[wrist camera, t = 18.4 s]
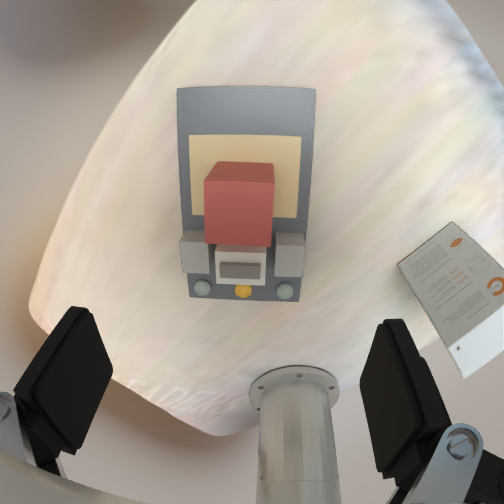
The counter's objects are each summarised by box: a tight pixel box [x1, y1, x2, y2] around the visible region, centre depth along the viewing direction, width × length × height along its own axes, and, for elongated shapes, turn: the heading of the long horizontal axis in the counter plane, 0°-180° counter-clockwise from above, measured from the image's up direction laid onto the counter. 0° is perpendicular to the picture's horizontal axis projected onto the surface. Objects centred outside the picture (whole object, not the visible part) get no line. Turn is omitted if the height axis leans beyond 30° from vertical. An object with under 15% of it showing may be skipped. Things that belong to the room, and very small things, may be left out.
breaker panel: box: [177, 86, 316, 302], centre depth 27 cm, size 20×11×4 cm, turn 179°
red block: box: [204, 161, 275, 247], centre depth 23 cm, size 4×4×6 cm
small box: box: [398, 222, 504, 379], centre depth 25 cm, size 8×6×13 cm
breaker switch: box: [215, 244, 266, 286], centre depth 27 cm, size 3×4×4 cm
